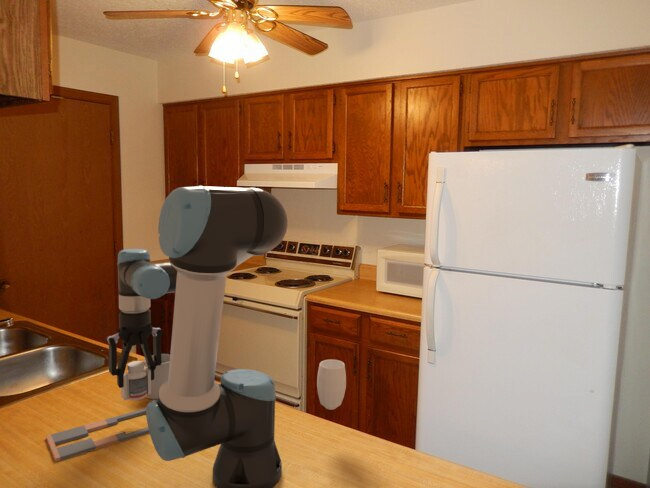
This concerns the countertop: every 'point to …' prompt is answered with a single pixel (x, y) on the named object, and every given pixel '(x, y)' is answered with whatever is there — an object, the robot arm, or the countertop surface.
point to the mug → (159, 376)
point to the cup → (331, 383)
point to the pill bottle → (136, 380)
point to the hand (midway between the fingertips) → (136, 394)
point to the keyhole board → (89, 444)
